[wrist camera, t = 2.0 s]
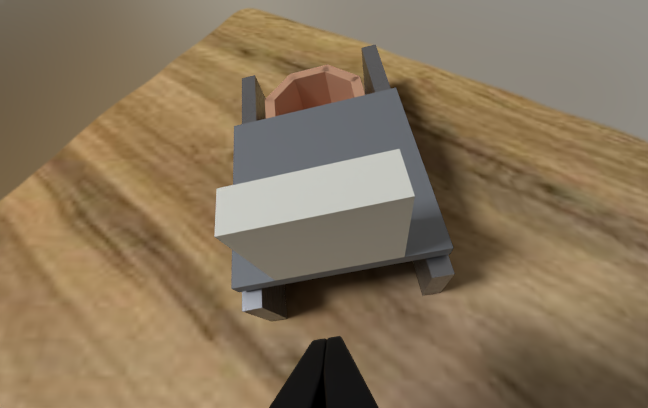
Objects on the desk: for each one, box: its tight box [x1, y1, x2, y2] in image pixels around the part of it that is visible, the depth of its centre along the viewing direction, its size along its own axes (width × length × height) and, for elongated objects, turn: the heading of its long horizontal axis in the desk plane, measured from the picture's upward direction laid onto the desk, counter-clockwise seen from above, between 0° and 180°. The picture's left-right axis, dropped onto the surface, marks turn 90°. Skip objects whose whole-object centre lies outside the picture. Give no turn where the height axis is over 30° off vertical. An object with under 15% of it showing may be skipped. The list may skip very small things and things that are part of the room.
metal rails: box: [242, 45, 455, 321], centre depth 24 cm, size 20×12×5 cm, turn 8°
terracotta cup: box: [265, 65, 365, 118], centre depth 26 cm, size 8×8×5 cm
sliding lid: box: [215, 88, 453, 292], centre depth 16 cm, size 12×12×8 cm
